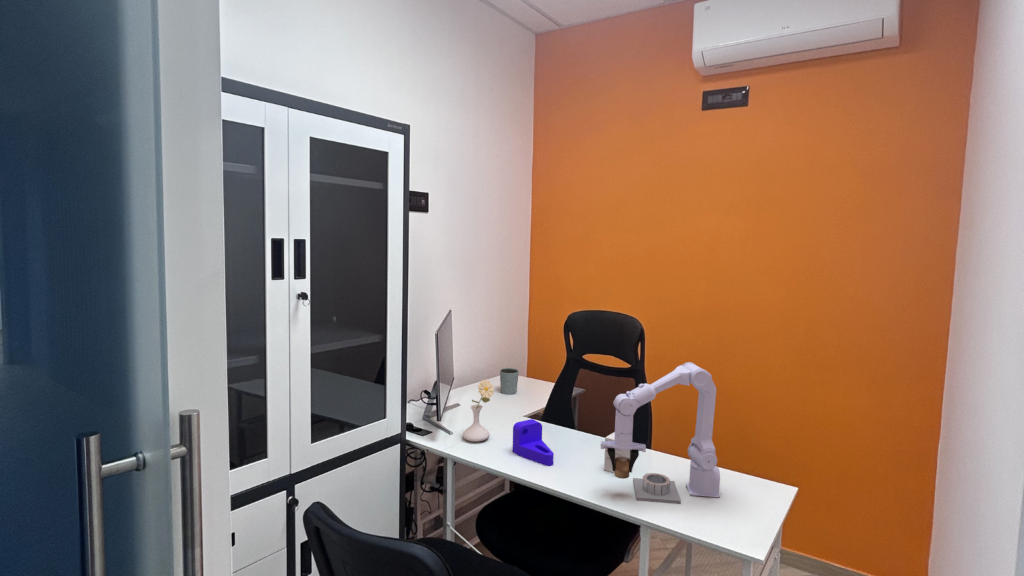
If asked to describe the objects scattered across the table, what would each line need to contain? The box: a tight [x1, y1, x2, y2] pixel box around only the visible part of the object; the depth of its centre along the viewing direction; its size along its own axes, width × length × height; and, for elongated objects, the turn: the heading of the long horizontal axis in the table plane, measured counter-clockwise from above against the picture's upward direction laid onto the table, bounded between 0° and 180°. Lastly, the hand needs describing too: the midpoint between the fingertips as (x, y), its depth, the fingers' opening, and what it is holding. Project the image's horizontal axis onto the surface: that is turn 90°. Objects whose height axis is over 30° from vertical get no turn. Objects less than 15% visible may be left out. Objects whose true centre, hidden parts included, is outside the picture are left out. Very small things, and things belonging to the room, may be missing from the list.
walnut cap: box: [613, 456, 630, 479], centre depth 181 cm, size 5×5×6 cm
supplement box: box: [603, 431, 630, 474], centre depth 200 cm, size 7×7×13 cm
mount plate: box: [632, 477, 682, 505], centre depth 185 cm, size 14×14×1 cm
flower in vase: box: [462, 379, 495, 442], centre depth 227 cm, size 13×11×25 cm
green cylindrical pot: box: [499, 367, 520, 396], centre depth 291 cm, size 10×10×12 cm
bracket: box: [512, 418, 554, 467], centre depth 210 cm, size 18×11×12 cm, turn 33°
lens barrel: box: [642, 472, 671, 495], centre depth 185 cm, size 9×9×4 cm
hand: (622, 470), depth 182 cm, fingers closed on walnut cap, 5 cm apart
